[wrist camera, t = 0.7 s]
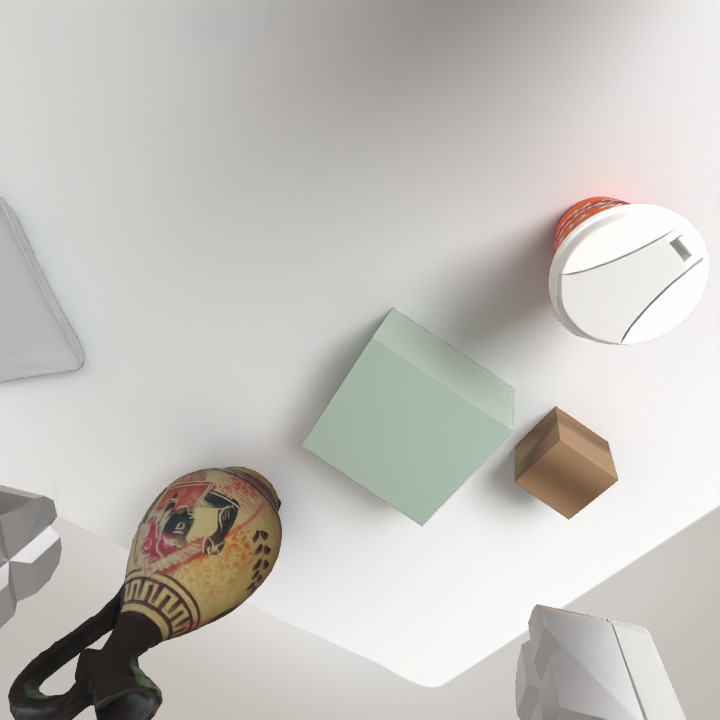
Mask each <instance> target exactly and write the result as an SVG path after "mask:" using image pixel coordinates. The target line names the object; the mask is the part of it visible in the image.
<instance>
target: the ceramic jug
mask: <svg viewBox="0 0 720 720" xmlns="http://www.w3.org/2000/svg"><path fill="white" fill-rule="evenodd" d="M280 505H281V502H280V500H279V499H278V497H277V495H276V492H275V490H274V488H273V486H272V485H271V483H270V482H269V481H268V480H267V479H266V478H264V477H263V476H262V475H260V474H259V473H257V472H255V471H253V470H250V469H247V468H244V467H229V468H225V469H219V468H212V469H204V470H199V471H196V472H192V473H189V474H187V475H184V476H182V477H180V478H179V479H177V480H175V481H174V482H173V483H172V484H170V485H169V486H168V487H167V488H166V489H164V491H163V492H162V493H161V494H160V495H159V496H158V497H157V498H156V500H155V501H154V502H153V504H152V505H151V506H150V508H149V509H148V511H147V512H146V514H145V516H144V517H143V519H142V521H141V523H140V525H139V526H138V530H137V532H136V535H135V537H134V539H133V541H132V546H131V551H130V555H129V558H128V563H127V569H126V575H125V581H124V584H123V585H122V587H121V589H120V590H119V592H118V593H117V595H116V596H115V597H114V598H113V599H112V600H111V601H110V602H108V603H107V604H106V605H105V607H104V608H103V609H102V610H101V611H100V612H99V613H97V614H96V615H95V616H93V617H90V618H89V619H88V620H87V621H85V622H84V623H83V624H81V625H80V626H79V627H78V628H76V629H75V630H74V631H73V632H71V633H69V634H68V635H66V636H65V637H64V638H62V639H60V640H59V641H57V642H55V643H54V644H53V645H52V646H51V647H50V648H48V649H47V650H45V651H43V652H41V653H40V654H39V655H38V656H37V657H36V658H35V659H33V660H32V661H31V662H30V663H29V664H28V665H27V667H26V668H25V669H24V670H23V671H22V672H21V673H20V674H19V676H18V677H17V678H16V679H15V681H14V683H13V684H12V686H11V688H10V692H9V695H8V698H9V703H10V711H11V713H12V715H13V717H14V719H15V720H72V719H73V718H74V717H76V716H77V715H78V714H79V713H80V712H82V711H83V710H84V709H85V708H87V707H88V706H90V705H94V706H95V712H96V717H97V720H151V719H152V718H153V717H154V716H155V714H156V712H157V710H158V708H159V707H160V705H161V703H162V694H161V690H160V689H159V688H158V687H157V686H156V684H154V682H153V681H152V680H151V679H150V678H149V677H147V676H146V675H145V674H144V673H143V671H142V670H141V669H140V668H139V664H138V657H139V656H140V655H142V654H143V653H144V652H146V651H147V650H148V649H149V648H152V647H154V646H156V645H158V644H159V643H161V642H163V641H166V640H170V639H172V638H175V637H179V636H182V635H184V634H187V633H189V632H192V631H194V630H197V629H199V628H200V627H202V626H204V625H207V624H209V623H212V622H214V621H216V620H218V619H220V618H222V617H224V616H225V615H227V614H229V613H230V612H232V611H233V610H234V609H236V608H237V607H238V606H239V605H241V604H242V603H243V602H244V601H245V600H247V599H248V598H249V597H250V596H251V595H252V594H253V593H254V592H255V591H256V590H257V588H258V587H259V586H260V585H261V584H262V583H263V582H264V580H265V579H266V578H267V576H268V575H269V574H270V572H271V571H272V569H273V566H274V564H275V562H276V560H277V558H278V555H279V551H280V546H281V539H282V527H281V521H280V517H279V514H278V511H279V508H280ZM111 630H113V631H112V633H111V635H110V637H109V638H108V640H107V642H106V643H105V645H104V647H103V648H102V649H101V650H96V649H90V648H87V649H85V648H86V647H88V646H89V645H91V644H93V643H94V642H95V641H97V640H98V639H99V638H101V637H102V636H103V635H105V634H106V633H108V632H109V631H111ZM79 653H80V656H79V659H78V663H77V668H76V672H75V680H76V683H75V684H74V685H73V686H72V688H71V689H70V690H69V691H68V692H66V693H65V694H63V695H53V696H46V695H44V694H42V693H41V692H39V687H40V686H41V684H42V683H43V682H44V680H46V679H47V678H48V677H49V676H51V675H52V674H53V673H54V672H56V671H57V670H58V669H59V668H61V667H62V666H63V665H65V664H66V663H67V662H68V661H70V660H71V659H72V658H74V657H75V656H77V655H78V654H79Z"/></svg>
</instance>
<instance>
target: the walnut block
mask: <svg viewBox="0 0 720 720" xmlns="http://www.w3.org/2000/svg"><path fill="white" fill-rule="evenodd" d="M617 481H618V477H617V473H616V470H615V466H614V463H613V459H612V456H611V452H610V448H609V445H608V442H607V441H606V440H604V439H603V438H601V437H600V436H598V435H597V434H595V433H594V432H592V431H591V430H590V429H588V428H587V427H585V426H584V425H582V424H581V423H579V422H578V421H576V420H575V419H574V418H572V417H571V416H569V415H568V414H566V413H565V412H563V411H562V410H560V409H559V408H558V407H555V408H554V409H553V410H552V411H551V412H550V413H548V414H547V415H546V416H545V417H544V418H543V419H542V420H541V421H540V422H539V423H538V424H537V425H536V426H535V427H534V428H533V429H532V430H531V431H530V432H529V433H528V434H527V435H526V436H525V437H524V438H523V439H522V440H521V441H520V442H519V443H518V444H517V445H516V446H515V483H517V484H518V485H519V486H521V487H522V488H524V489H525V490H527V491H528V492H530V493H531V494H532V495H534V496H535V497H537V498H538V499H540V500H541V501H543V502H544V503H545V504H547V505H548V506H550V507H551V508H553V509H554V510H556V511H557V512H559V513H560V514H561V515H563V516H564V517H566V518H567V519H570V518H572V517H573V516H574V515H575V514H577V513H578V512H579V511H580V510H582V509H583V508H584V507H585V506H587V505H588V504H589V503H590V502H592V501H593V500H594V499H595V498H597V497H598V496H599V495H600V494H602V493H603V492H604V491H605V490H607V489H608V488H609V487H610V486H612V485H613V484H614V483H615V482H617Z"/></svg>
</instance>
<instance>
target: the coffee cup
mask: <svg viewBox="0 0 720 720" xmlns="http://www.w3.org/2000/svg"><path fill="white" fill-rule="evenodd" d="M707 276H708V256H707V250H706V247H705V245H704V242H703V240H702V238H701V236H700V235H699V233H698V232H697V230H696V229H695V228H694V227H693V226H692V225H691V224H690V223H689V222H688V221H687V220H686V219H684V218H683V217H681V216H680V215H679V214H677V213H675V212H672V211H670V210H668V209H665V208H662V207H658V206H655V205H646V204H630V203H627V202H624V201H620V200H617V199H613V198H608V197H593V198H589V199H585V200H583V201H581V202H579V203H577V204H575V205H574V206H572V207H571V208H570V209H569V210H568V211H567V212H566V213H565V214H564V215H563V216H562V218H561V220H560V221H559V223H558V226H557V229H556V232H555V239H554V258H553V261H552V264H551V268H550V272H549V282H548V285H549V294H550V298H551V301H552V306H553V310H554V314H555V316H556V317H557V319H558V320H559V321H560V323H561V324H562V325H563V326H564V327H565V328H566V329H568V330H569V331H570V332H572V333H573V334H575V335H576V336H579V337H583V338H587V339H590V340H593V341H596V342H600V343H606V344H619V345H628V344H637V343H642V342H646V341H649V340H652V339H655V338H658V337H660V336H662V335H664V334H665V333H667V332H669V331H671V330H672V329H673V328H675V327H676V326H678V325H679V324H680V323H681V322H682V321H683V320H684V319H685V318H686V317H687V316H688V315H689V314H690V313H691V311H692V310H693V309H694V307H695V305H696V304H697V302H698V300H699V298H700V297H701V295H702V292H703V290H704V287H705V285H706V281H707Z"/></svg>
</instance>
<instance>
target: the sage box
mask: <svg viewBox="0 0 720 720" xmlns="http://www.w3.org/2000/svg"><path fill="white" fill-rule="evenodd" d="M513 428H514V388H513V387H512V386H510V385H509V384H507V383H506V382H504V381H503V380H501V379H500V378H498V377H497V376H495V375H494V374H492V373H491V372H489V371H488V370H486V369H485V368H483V367H482V366H480V365H479V364H477V363H476V362H474V361H473V360H471V359H470V358H468V357H467V356H465V355H464V354H462V353H461V352H459V351H458V350H456V349H455V348H453V347H452V346H450V345H449V344H447V343H446V342H444V341H443V340H441V339H440V338H438V337H436V336H435V335H433V334H432V333H430V332H429V331H427V330H426V329H424V328H423V327H421V326H420V325H418V324H417V323H415V322H414V321H412V320H411V319H409V318H408V317H406V316H405V315H403V314H402V313H400V312H399V311H397V310H396V309H394V308H392V310H391V311H390V312H389V314H388V315H387V317H386V318H385V320H384V321H383V322H382V324H381V325H380V327H379V328H378V330H377V331H376V332H375V334H374V335H373V337H372V338H371V340H370V341H369V343H368V344H367V346H366V347H365V349H364V350H363V352H362V353H361V355H360V357H359V358H358V360H357V361H356V363H355V364H354V366H353V367H352V369H351V370H350V372H349V373H348V375H347V376H346V378H345V379H344V381H343V383H342V384H341V386H340V387H339V389H338V390H337V392H336V393H335V395H334V396H333V398H332V399H331V401H330V402H329V404H328V406H327V407H326V409H325V410H324V412H323V413H322V415H321V416H320V418H319V419H318V421H317V422H316V424H315V425H314V427H313V429H312V430H311V432H310V433H309V435H308V436H307V438H306V439H305V441H304V442H303V444H302V445H301V446H302V447H304V448H305V449H307V450H308V451H310V452H311V453H313V454H314V455H316V456H317V457H319V458H320V459H322V460H323V461H325V462H326V463H328V464H329V465H331V466H332V467H334V468H335V469H337V470H338V471H340V472H341V473H343V474H344V475H346V476H347V477H349V478H350V479H352V480H353V481H355V482H356V483H358V484H359V485H361V486H362V487H364V488H365V489H367V490H368V491H370V492H371V493H373V494H374V495H376V496H377V497H379V498H380V499H382V500H383V501H385V502H386V503H388V504H389V505H391V506H392V507H394V508H395V509H397V510H398V511H400V512H401V513H403V514H404V515H406V516H407V517H409V518H410V519H412V520H413V521H415V522H416V523H418V524H419V525H421V526H423V525H424V524H425V523H426V522H427V521H428V520H429V519H430V518H431V516H432V515H433V514H434V513H435V512H436V511H437V510H438V509H439V508H440V507H441V506H442V505H443V504H444V503H445V502H446V501H447V500H448V499H449V498H450V497H451V496H452V494H453V493H454V492H455V491H456V490H457V489H458V488H459V487H460V486H461V485H462V484H463V483H464V482H465V481H466V480H467V479H468V478H469V477H470V476H471V475H472V474H473V472H474V471H475V470H476V469H477V468H478V467H479V466H480V465H481V464H482V463H483V462H484V461H485V460H486V459H487V458H488V457H489V456H490V455H491V454H492V453H493V452H494V451H495V449H496V448H497V447H498V446H499V445H500V444H501V443H502V442H503V441H504V440H505V439H506V438H507V437H508V436H509V435H510V434H511V433H512V432H513Z"/></svg>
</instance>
